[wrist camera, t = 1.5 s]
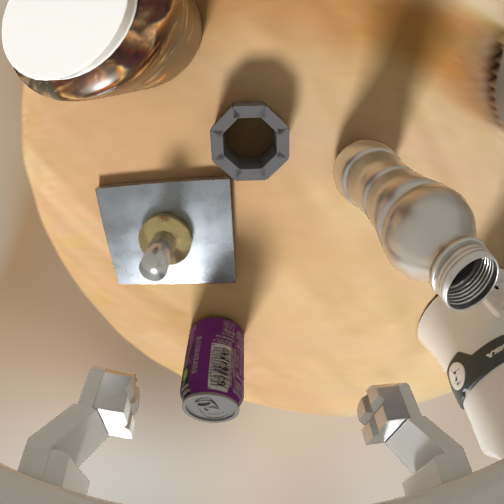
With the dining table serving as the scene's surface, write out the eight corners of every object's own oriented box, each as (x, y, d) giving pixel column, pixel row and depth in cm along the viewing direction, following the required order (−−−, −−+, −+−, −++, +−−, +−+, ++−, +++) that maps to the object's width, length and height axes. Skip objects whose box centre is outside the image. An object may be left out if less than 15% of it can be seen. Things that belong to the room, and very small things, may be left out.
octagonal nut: (283, 101, 27) (289, 105, 24) (283, 166, 31) (288, 179, 27) (213, 103, 27) (208, 107, 24) (217, 168, 31) (213, 181, 27)
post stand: (230, 175, 31) (225, 203, 25) (235, 277, 37) (234, 318, 31) (99, 185, 31) (69, 213, 25) (121, 279, 37) (102, 317, 31)
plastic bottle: (321, 144, 30) (417, 251, 12) (384, 128, 29) (525, 213, 11) (335, 202, 33) (415, 347, 16) (394, 186, 32) (508, 308, 15)
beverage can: (179, 324, 41) (164, 400, 31) (226, 305, 40) (221, 385, 29) (208, 356, 44) (201, 428, 34) (253, 341, 43) (255, 417, 33)
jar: (195, -33, 20) (154, -106, 7) (210, 76, 26) (176, 77, 13) (79, 2, 21) (-19, -21, 8) (94, 104, 27) (-3, 138, 14)
